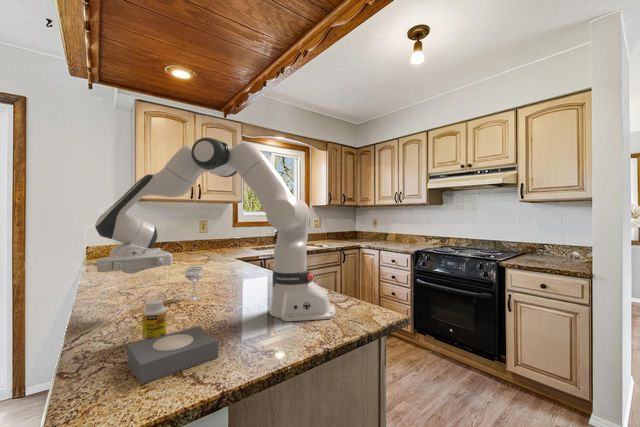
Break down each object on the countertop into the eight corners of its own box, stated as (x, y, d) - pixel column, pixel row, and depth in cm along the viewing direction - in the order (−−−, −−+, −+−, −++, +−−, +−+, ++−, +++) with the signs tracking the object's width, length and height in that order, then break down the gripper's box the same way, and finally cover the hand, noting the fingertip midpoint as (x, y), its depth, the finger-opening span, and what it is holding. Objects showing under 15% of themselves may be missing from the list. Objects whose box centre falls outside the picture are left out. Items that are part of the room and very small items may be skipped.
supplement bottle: (143, 346, 76) (143, 306, 76) (142, 338, 80) (142, 300, 80) (167, 341, 79) (167, 302, 79) (165, 334, 83) (165, 297, 83)
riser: (198, 341, 79) (198, 325, 79) (218, 357, 70) (218, 339, 70) (127, 362, 68) (127, 344, 68) (140, 384, 59) (140, 363, 59)
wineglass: (197, 301, 114) (197, 270, 114) (181, 300, 115) (181, 269, 115) (206, 296, 121) (206, 266, 120) (191, 295, 122) (191, 266, 122)
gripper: (92, 252, 91) (99, 257, 81) (164, 247, 105) (178, 251, 95) (92, 273, 91) (98, 281, 81) (164, 265, 105) (177, 271, 95)
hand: (142, 265), depth 88 cm, fingers open, 8 cm apart
